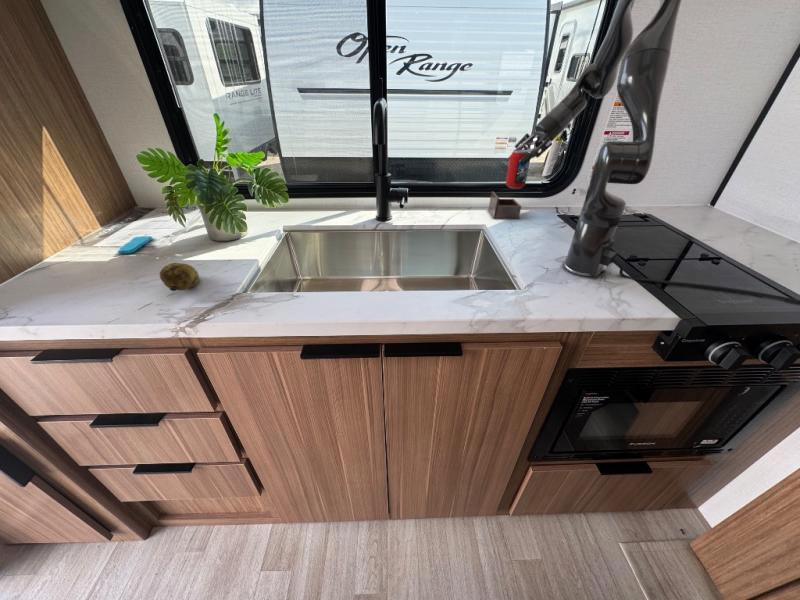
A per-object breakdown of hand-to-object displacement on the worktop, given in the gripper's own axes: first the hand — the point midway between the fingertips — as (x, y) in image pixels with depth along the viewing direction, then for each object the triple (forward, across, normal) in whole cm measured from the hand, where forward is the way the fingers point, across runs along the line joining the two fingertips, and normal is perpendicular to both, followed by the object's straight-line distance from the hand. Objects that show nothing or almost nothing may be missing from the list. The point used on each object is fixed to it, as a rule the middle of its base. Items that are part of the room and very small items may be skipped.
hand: (515, 162), depth 112 cm
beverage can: (+5, 0, +7) cm, 9 cm away
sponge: (+107, -6, -76) cm, 131 cm away
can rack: (+12, -9, +18) cm, 24 cm away
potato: (+89, +26, -58) cm, 109 cm away
